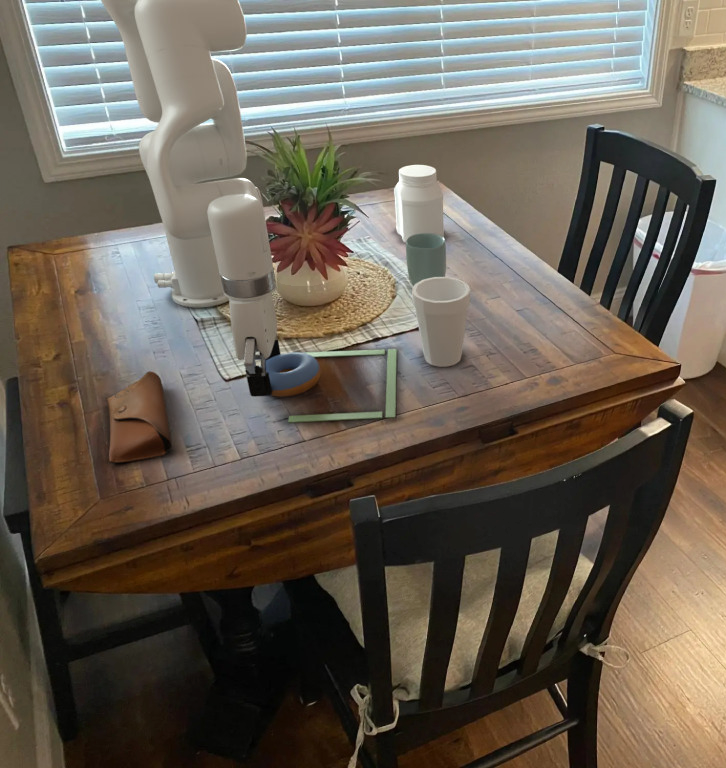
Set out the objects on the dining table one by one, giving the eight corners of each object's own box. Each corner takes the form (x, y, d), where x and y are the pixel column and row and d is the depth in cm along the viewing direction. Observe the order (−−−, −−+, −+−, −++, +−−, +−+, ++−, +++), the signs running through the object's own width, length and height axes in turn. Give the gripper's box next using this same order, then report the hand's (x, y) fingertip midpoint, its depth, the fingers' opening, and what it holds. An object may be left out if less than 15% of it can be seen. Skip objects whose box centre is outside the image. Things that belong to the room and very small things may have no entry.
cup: (449, 279, 155) (448, 234, 149) (443, 297, 148) (441, 250, 143) (412, 277, 155) (410, 231, 150) (404, 294, 149) (401, 247, 143)
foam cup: (478, 349, 132) (478, 282, 125) (458, 376, 125) (457, 306, 118) (429, 339, 135) (426, 273, 128) (406, 364, 128) (402, 296, 120)
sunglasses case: (103, 396, 117) (117, 361, 115) (150, 406, 121) (165, 372, 119) (108, 465, 103) (124, 426, 101) (161, 473, 108) (178, 436, 106)
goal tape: (288, 422, 113) (288, 421, 113) (302, 353, 130) (302, 352, 130) (395, 417, 115) (395, 416, 115) (396, 349, 132) (396, 348, 131)
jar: (393, 227, 177) (389, 164, 168) (432, 223, 180) (430, 160, 172) (406, 246, 168) (403, 181, 160) (447, 241, 171) (446, 176, 163)
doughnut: (249, 381, 122) (244, 357, 120) (306, 362, 127) (303, 339, 125) (273, 411, 116) (268, 386, 113) (333, 390, 121) (329, 366, 118)
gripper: (233, 256, 117) (252, 350, 127) (209, 309, 103) (231, 410, 113) (283, 255, 118) (297, 348, 128) (265, 308, 104) (283, 408, 113)
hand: (266, 377), depth 120 cm, fingers open, 9 cm apart
